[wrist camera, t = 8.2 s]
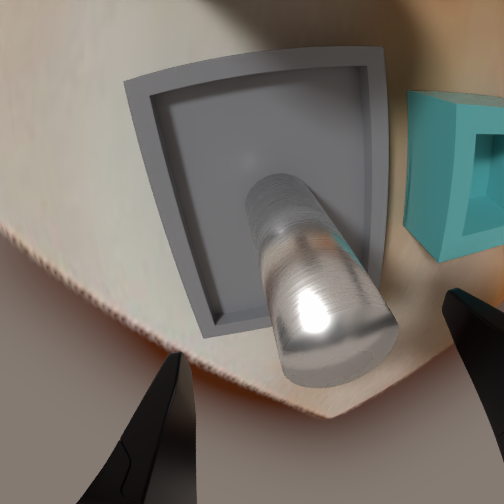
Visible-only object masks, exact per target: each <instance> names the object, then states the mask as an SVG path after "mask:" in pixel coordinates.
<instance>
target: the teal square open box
mask: <svg viewBox="0 0 504 504" xmlns="http://www.w3.org/2000/svg"><path fill="white" fill-rule="evenodd" d="M407 105H408V157H407V181H406V196H405V209H404V220H403V226H404V227H405V228H406V229H407V230H408V231H409V232H410V233H411V234H412V235H413V236H414V237H415V238H416V239H417V240H418V241H419V242H420V243H421V245H422V246H423V247H424V248H425V249H426V250H427V251H428V252H429V253H430V254H431V255H432V257H433V258H434V259H435V260H436V261H437V262H438V263H440V262H444V261H448V260H451V259H455V258H458V257H462V256H466V255H469V254H473V253H476V252H479V251H483V250H486V249H490V248H493V247H496V246H500V245H503V244H504V98H502V97H494V96H486V95H477V94H467V93H456V92H441V91H417V90H407Z"/></svg>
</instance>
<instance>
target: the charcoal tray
mask: <svg viewBox="0 0 504 504" xmlns="http://www.w3.org/2000/svg"><path fill="white" fill-rule="evenodd" d="M123 82H124V87H125V91H126V95H127V99H128V104H129V108H130V112H131V116H132V120H133V124H134V128H135V131H136V135H137V139H138V143H139V146H140V150H141V154H142V157H143V161H144V164H145V168H146V171H147V175H148V178H149V182H150V185H151V188H152V192H153V195H154V198H155V202H156V205H157V208H158V211H159V214H160V218H161V221H162V224H163V227H164V230H165V233H166V236H167V239H168V242H169V245H170V248H171V251H172V254H173V257H174V260H175V263H176V266H177V269H178V271H179V274H180V277H181V280H182V283H183V285H184V288H185V291H186V294H187V296H188V299H189V302H190V304H191V307H192V310H193V312H194V315H195V318H196V320H197V323H198V325H199V328H200V331H201V333H202V336H203V338H209V337H215V336H221V335H227V334H233V333H239V332H244V331H250V330H255V329H260V328H266V327H271V326H272V323H271V319H270V314H269V310H268V306H267V301H266V297H265V292H264V288H263V284H262V279H261V275H260V271H259V266H258V262H257V258H256V253H255V249H254V245H253V240H252V236H251V232H250V227H249V223H248V219H247V215H246V209H245V203H246V198H247V195H248V193H249V191H250V190H251V188H252V187H253V186H254V185H255V184H256V183H257V182H258V181H259V180H261V179H262V178H264V177H266V176H269V175H272V174H277V173H285V174H290V175H293V176H295V177H297V178H299V179H300V180H302V181H303V182H304V183H305V184H306V186H307V187H308V188H309V190H310V191H311V192H312V194H313V195H314V197H315V198H316V199H317V201H318V202H319V203H320V205H321V206H322V208H323V209H324V210H325V212H326V213H327V215H328V216H329V218H330V219H331V220H332V222H333V223H334V225H335V226H336V228H337V229H338V230H339V232H340V233H341V235H342V236H343V238H344V239H345V241H346V242H347V244H348V245H349V247H350V248H351V250H352V251H353V253H354V254H355V256H356V257H357V259H358V260H359V262H360V263H361V265H362V266H363V268H364V269H365V271H366V272H367V274H368V275H369V277H370V279H371V280H372V282H373V283H374V285H375V286H376V288H377V290H378V291H379V288H380V281H381V272H382V263H383V254H384V243H385V231H386V217H387V199H388V169H389V130H388V101H387V83H386V70H385V59H384V49H383V47H376V46H322V47H303V48H289V49H278V50H269V51H260V52H252V53H245V54H238V55H232V56H226V57H220V58H215V59H209V60H204V61H199V62H195V63H190V64H186V65H181V66H177V67H173V68H169V69H165V70H161V71H157V72H154V73H150V74H147V75H143V76H140V77H136V78H133V79H130V80H127V81H123Z"/></svg>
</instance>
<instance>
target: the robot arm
mask: <svg viewBox="0 0 504 504" xmlns="http://www.w3.org/2000/svg"><path fill="white" fill-rule="evenodd" d="M442 313H443V316H444V318H445V320H446V323H447V325H448V328H449V330H450V333H451V335H452V338H453V340H454V343H455V345H456V348H457V350H458V352H459V354H460V356H461V358H462V360H463V362H464V365H465V367H466V369H467V371H468V373H469V375H470V377H471V379H472V382H473V384H474V386H475V388H476V391H477V393H478V395H479V397H480V400H481V402H482V404H483V407H484V409H485V412H486V414H487V416H488V419H489V422H490V424H491V427H492V429H493V432H494V435H495V438H496V441H497V443H498V446H499V449H500V452H501V455H502V458H503V461H504V313H503V312H502V311H500V310H498V309H496V308H494V307H493V306H491V305H489V304H487V303H485V302H484V301H482V300H480V299H478V298H476V297H474V296H472V295H471V294H469V293H467V292H465V291H463V290H461V289H459V288H454V289H451V290H448V291H447V293H446V296H445V299H444V303H443V306H442ZM196 494H197V493H196V412H195V403H194V393H193V384H192V374H191V369H190V366H189V364H188V362H187V360H186V358H185V356H184V354H183V353H182V352H172V353H169V354H168V356H167V358H166V359H165V361H164V363H163V364H162V366H161V368H160V370H159V371H158V373H157V375H156V376H155V378H154V380H153V382H152V384H151V385H150V387H149V389H148V390H147V392H146V394H145V396H144V397H143V399H142V401H141V403H140V405H139V406H138V408H137V410H136V411H135V413H134V415H133V417H132V418H131V420H130V422H129V424H128V426H127V427H126V429H125V431H124V433H123V434H122V436H121V438H120V440H119V441H118V443H117V445H116V447H115V448H114V450H113V452H112V454H111V455H110V457H109V459H108V460H107V462H106V463H105V465H104V466H103V468H102V469H101V471H100V472H99V474H98V475H97V476H96V478H95V479H94V481H93V482H92V483H91V485H90V486H89V487H88V489H87V490H86V492H85V493H84V494H83V496H82V497H81V498H80V500H79V501H78V502H77V503H76V504H197V495H196Z"/></svg>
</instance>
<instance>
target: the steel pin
mask: <svg viewBox="0 0 504 504" xmlns="http://www.w3.org/2000/svg"><path fill="white" fill-rule="evenodd" d="M245 209H246V215H247V219H248V223H249V227H250V232H251V236H252V240H253V245H254V249H255V253H256V258H257V262H258V266H259V271H260V275H261V279H262V284H263V288H264V292H265V297H266V301H267V306H268V310H269V314H270V319H271V323H272V327H273V332H274V336H275V340H276V345H277V349H278V354H279V358H280V362H281V367H282V371H283V373H284V375H285V376H286V377H287V378H288V379H289V380H290V381H291V382H293V383H295V384H297V385H300V386H303V387H309V388H326V387H333V386H337V385H341V384H344V383H347V382H350V381H352V380H355V379H357V378H359V377H361V376H363V375H365V374H366V373H368V372H369V371H371V370H372V369H374V368H375V367H376V366H377V365H379V364H380V363H381V362H382V361H383V360H384V359H385V358H386V357H387V356H388V354H389V353H390V352H391V350H392V349H393V347H394V345H395V343H396V341H397V338H398V323H397V321H396V319H395V317H394V316H393V314H392V312H391V311H390V309H389V307H388V306H387V304H386V302H385V301H384V299H383V298H382V296H381V294H380V293H379V291H378V290H377V288H376V286H375V285H374V283H373V282H372V280H371V279H370V277H369V275H368V274H367V272H366V271H365V269H364V268H363V266H362V265H361V263H360V262H359V260H358V259H357V257H356V256H355V254H354V253H353V251H352V250H351V248H350V247H349V245H348V244H347V242H346V241H345V239H344V238H343V236H342V235H341V233H340V232H339V230H338V229H337V228H336V226H335V225H334V223H333V222H332V220H331V219H330V218H329V216H328V215H327V213H326V212H325V210H324V209H323V208H322V206H321V205H320V203H319V202H318V201H317V199H316V198H315V197H314V195H313V194H312V192H311V191H310V190H309V188H308V187H307V186H306V184H305V183H304V182H303V181H302V180H300V179H299V178H297V177H295V176H293V175H290V174H285V173H277V174H272V175H269V176H266V177H264V178H262V179H261V180H259V181H258V182H257V183H256V184H255V185H254V186H253V187H252V188H251V190H250V191H249V193H248V195H247V198H246V203H245Z"/></svg>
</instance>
